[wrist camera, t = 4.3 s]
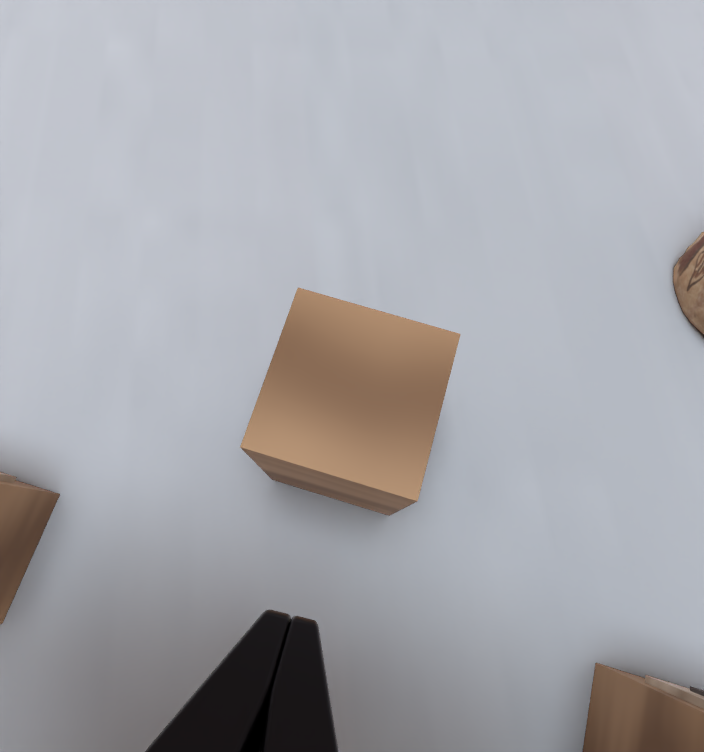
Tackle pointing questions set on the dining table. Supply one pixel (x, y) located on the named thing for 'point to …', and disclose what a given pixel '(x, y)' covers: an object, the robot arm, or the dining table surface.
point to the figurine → (691, 283)
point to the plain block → (351, 402)
